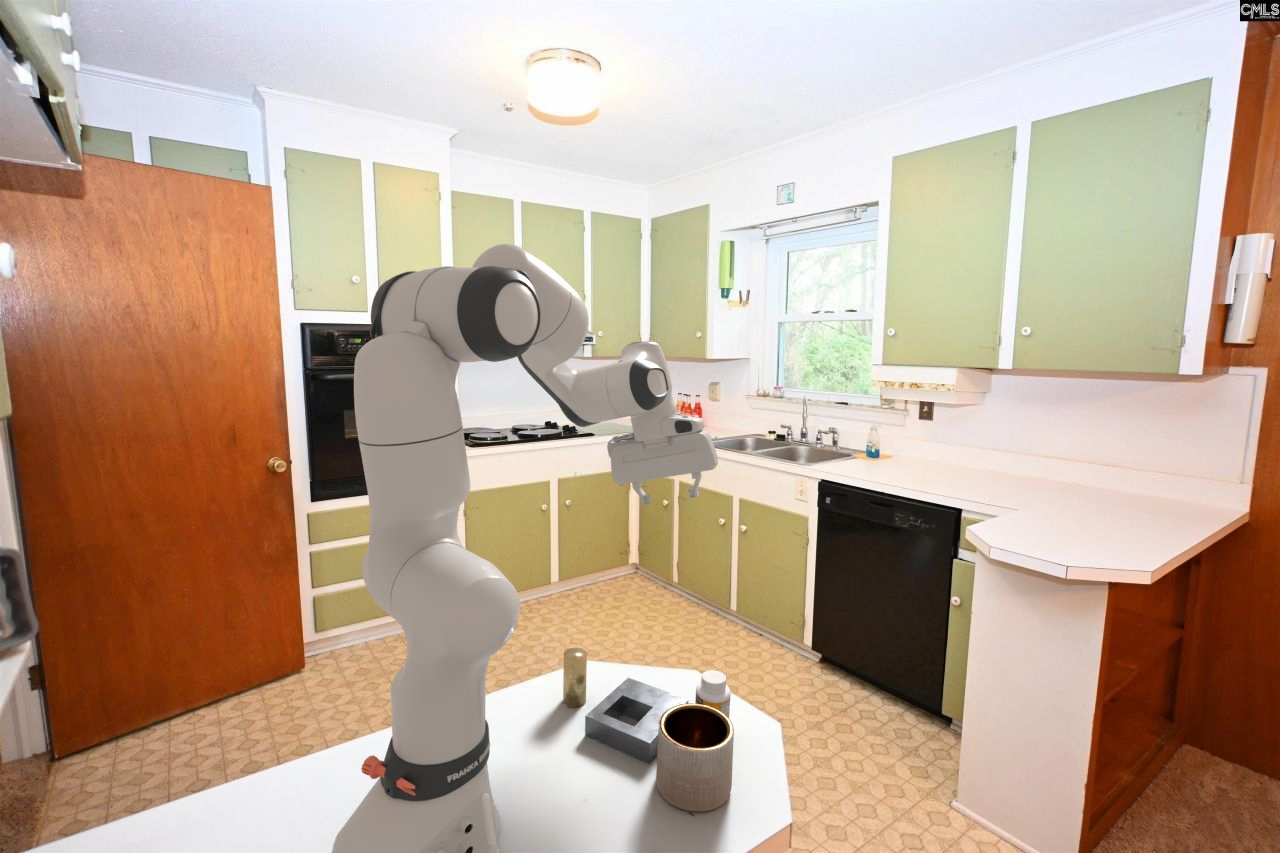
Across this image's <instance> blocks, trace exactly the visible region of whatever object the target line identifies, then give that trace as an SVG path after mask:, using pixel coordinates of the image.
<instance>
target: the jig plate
mask: <svg viewBox="0 0 1280 853" xmlns="http://www.w3.org/2000/svg"><path fill="white" fill-rule="evenodd" d="M681 704H689V699H687V698H685V697H682V696H679V695H676V694H674V693H672V692H669V691H665V690H662V689H660V688H657V687H655V686H652V685H650V684H647V683H644V682H641V681H639V680H635V679H633V678H631V677H627V678H626V679H625V680H624V681H622V682H621V683H620V684H619V685H618V686H617V687H616V688H614V690H612V691H611V692H610V693H609V694H608V695H607V696H606V697H605V698H604V699H603V700H601V701H600V702H599V703H598V704H597V705H596V706H594V707H593V708H592V709H591V710H590V711H589V712H588V713H587V714H585V717H584V725H585V726H584V735H585V737H587V738H590V739H591V740H594V741H597V743H601V744H603V745H604V746H607V747H609V748H612V749H614V750H616V751H619V752H621V753H623V754H625V755H627V756H630V757H632V758H634V759H637V760H639V761H641V762H643V763H645V764H647V765H650V764H651V763H652V762H653V761H654V760H655V758H657V751H658V729H659V720H660V718H661V716H662V714H663V713H664V712H665V711H667V710H668V709H670V708H672V707H674V706H677V705H681ZM622 715H624V716H626V717H628V718H631V719H634V720H636V721H638V722H637V723H635V724H636V725H634V726H633V725H631V724H629V723H626V722H624V721H622V720H619V718H620V716H622Z"/></svg>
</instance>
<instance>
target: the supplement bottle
mask: <svg viewBox="0 0 1280 853" xmlns="http://www.w3.org/2000/svg"><path fill="white" fill-rule="evenodd" d="M694 704H703V705H707V706H710V707H713V708H715V709H717V710H719V711H721V712H722V713H724V714H725V715H726V716H727V717H728V718H729V719H730V710H731V708H730V707H731V689H730V687H729V686H728V685H727V676H726V674H725V673H723V672H721V671H719V670H714V669H713V670H711V669H709V670H706V671H704V672H703V673H702V675H701V680H700V682H699V683H698V684H697V685H696V689H695V702H694Z"/></svg>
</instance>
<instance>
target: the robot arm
mask: <svg viewBox="0 0 1280 853" xmlns="http://www.w3.org/2000/svg"><path fill="white" fill-rule="evenodd" d="M471 266H472V267H465V266H464V267H463V266H462V267H461V266H458V267H455V266H448V265H447V266H440V267H439V266H438V267H433V268H426V269H423V270H419V271H416V270H415V271H414V270H413V271H412V270H411V271H410V270H409V271H405V272H402V273H399V274H397V275H394V276H393V277H390V278H388V279H387V280H386V281H383V283H382V284H381V285H380V286H379V288H378V289H377V290H376V292H375V294H374V297H373V300H372V304H371V307H370V308H371V310H370V323H371V324H370V330H369V335H370V336H369V337H370V338H371V339H370V340H369V341H368V342H366V343H365V344H363V345H362V346H361V347H360V349H359V350H358V351H357V354H356V356H355V360H354V367H353V368H354V373H353V399H354V400H353V401H354V402H353V403H354V414H355V426H356V431H357V439H358V443H359V450H360V454H361V459H362V460H361V461H362V466H363V467H362V468H363V472H364V478H365V483H366V484H365V485H366V489H367V490H366V492H367V497H368V505H369V535H368V537H369V539H368V548H367V550H366V551H365V553H364V557H363V559H362V564H361V576H362V579H363V582H364V584H365V586H366V589H367V591H368V592H369V595H370V597H371V598H372V599H373V601H374V603H375V604H376V606H378V607H379V608H380V609H381V610H382V611H384V612H385V613H386V614H387V615H389V617H391V618H393V619H394V620H395V621H396V622H398V624H399V625H400V626H401V628H402V630H403V633H404V635H405V639H406V644H407V645H406V646H407V648H406V649H407V650H406V656H405V661H404V665H403V666H402V667H401V668H400V669H399V670H398V671H397V672H396V673H395V675H394V676H393V679H392V682H391V686H390V710H391V713H390V714H391V733H392V734H391V738H390V741H389V743H388V746H387V750H386V753H385V756H384V760H380V758H378V757H377V756H375V755H369V756H368V757H367V758H365V760H364V761H363V764H362V765H361V768H360V770H361V772H362V774H364V775H366V776H369V777H370V778H371V779H372V780H376V779H378V780H376V782H375V783H374V785H372V787H371V788H370V790H368V792H367V794H366V795H365V796H364V798H363V799H362V800H361V802H360V803H359V805H358V806H357V808H355V810H354V811H353V813H352V814H351V815H350V817H349V818H348V819H347V821H346V822H345V824H343V826H342V827H341V828H340V830H339V831H338V833H337V835H336V837H335V838H334V839H335V840H334V841H333V842H334V843H333V846H332V849H331V853H500V849H499V844H498V838H499V833H500V828H501V823H500V822H501V821H500V815H499V812H498V810H497V807H496V804H495V802H494V798H493V794H492V788H491V783H490V776H489V769H488V761H489V758H490V751H491V750H490V747H491V746H490V745H491V743H490V728H489V723H488V721H487V718H486V690H487V689H486V688H487V687H486V681H487V673H488V672H487V671H488V667H489V663H490V660H491V657H492V656H494V655H495V654H496V653H497V652H498V651H500V649H502V648H503V647H504V646H505V645H506V643H507V642H508V641H509V640H510V639H511V637H512V635H513V633H514V632H515V629H516V627H517V624H518V621H519V617H520V612H521V601H520V597H519V593H518V591H517V589H516V587H515V586H514V585H513V583H512V582H511V581H510V580H509V579H508V578H507V576H506V575H505V574H504V573H503V572H501V570H500V569H499V568H498V567H497V566H496V565H495V564H493V563H492V562H491V561H489V560H486V559H485V558H483V557H481V556H479V555H477V554H475V553H474V552H471V551H470V550H468V549H466V548H465V547H464V546H463V544H462V542H461V540H460V537H459V533H458V520H459V512H460V507H461V505H462V504H464V502H465V501H466V500H467V498H468V496H469V494H470V492H471V477H470V470H469V464H468V462H469V461H468V456H467V449H466V442H465V434H464V427H463V419H462V414H461V409H460V408H461V407H460V405H459V404H460V403H459V398H458V394H457V391H456V380H457V375H458V372H459V368H460V366H461V363H476V362H477V363H478V362H491V363H498V362H504V361H507V360H511V359H515V358H516V357H517V359H518V361H519V363H520V365H521V366H522V367H523V369H524V370H525V371H526V372H527V374H528V375H530V377H531V378H532V379H533V380H534V381H535V382H536V383H537V384H538V385H539V386H540V387H541V388H542V389H543V390H544V391H545V392H546V393H547V394H548V395H549V396H550V397H551V398H552V400H554V402H556V404H557V406H558V407H559V408H560V411H561V412H562V413H563V415H564V416H565V418H567V419H568V421H570V422H571V423H573V424H574V425H576V426H578V427H582V428H585V427H590V426H593V425H596V424H599V423H603V422H607V421H612V420H619V419H623V418H627V417H630V423H631V427H632V433H631V432H630V433H625V434H623V435H615V436H613V437H612V438H611V439H610V440H609V441H608V443H607V452H608V456H609V458H610V468H611V469H610V470H611V476H612V481H613V482H614V483H615V484H616V485H618V486H619V485H620V486H621V485H625V484H630V483H631V485H632V486H631V487H632V489H633V490H634V492H635V493H636V494H637V495H638V496H639V497H640V501H641V505H642V506H646V505H651V504H652V499H651V497H652V496H651V493H646V492H645V490H644V489H643V488H642V486H643V485H644V484H643V482H646V481H651V480H657V479H664V478H669V477H676V476H681V475H682V476H683V475H688V474H691V478H692V480H694V483H693V486H692V487H691V486H690V487H689V488H688V493H689V498H690V499H693V498H694V499H695V498H698V497H699V496H700V492H699V485H700V483H701V480H702V477H703V476H702V472H708V471H713V470H715V469H716V467H717V466H718V464H719V459H718V454H717V450H716V446H715V444H714V441H713V438H712V437H711V435H710V433H709V432H707V430H704V428H705V421H704V419H703V418H701V417H697V416H689V415H681V414H680V415H679V414H678V410H677V406H676V403H675V401H674V399H673V393H672V392H673V383H672V378H671V374H670V370H669V367H668V363H667V359H666V357H665V353H664V351H663V349H662V346H660V344H659V343H657V342H654V341H649V340H648V341H643V340H642V341H636V342H632V343H629V344H627V345H625V346H624V347H623V348H621V354H620V355H621V356H620V359H619V360H617V362H614V363H610V364H607V365H602V366H598V367H595V368H589V369H585V370H584V369H583V370H574V369H572V368H570V367H569V365H568V364H567V363H566V362H567V361H569V360H570V359H572V357H574V356H575V355H576V354H577V352H578V351H579V350H580V349H581V347H582V346H583V344H584V343H585V342H584V341H585V340H586V338H587V334H588V332H589V324H590V323H589V320H590V319H589V312H588V309H587V306H586V304H585V302H584V301H583V299H582V298H581V296H580V295H579V293H578V292H577V291H576V290H575V289H574V288H573V286H571V285H570V284H568V282H566V281H565V279H563V278H562V277H561V276H560V275H559V274H558V273H557V272H556V271H555V270H554V269H553V268H551V267H550V266H549V265H548V264H547V263H545V262H544V261H542V260H541V259H540V258H538V257H536V256H535V255H533V254H532V253H530V251H527V250H525V249H523V247H520V246H518V245H516V244H511V243H501V244H497V245H494V246H491V247H489V248H487V249H486V250H485V251H483V252H482V253H481V254H480V255H479V256H478V257H477V258H476V260H475V261H474V263H473V264H472V265H471Z"/></svg>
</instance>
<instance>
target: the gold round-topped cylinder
mask: <svg viewBox="0 0 1280 853" xmlns="http://www.w3.org/2000/svg"><path fill="white" fill-rule="evenodd" d="M587 656H588V652H587V650H586V649H584V648H581V647H572V648H568V649H566V650H565V651H564V652H563V677H562V678H563V679H562V680H563V686H562V688H563V689H562V691H563V694H562V697H563V698H562V704H563V705H564V706H565V707H567V708H570V709H578V708H581V707H583V706H585V705H586V703H587V702H586V701H587V663H588V661H587V660H588V658H587Z"/></svg>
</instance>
